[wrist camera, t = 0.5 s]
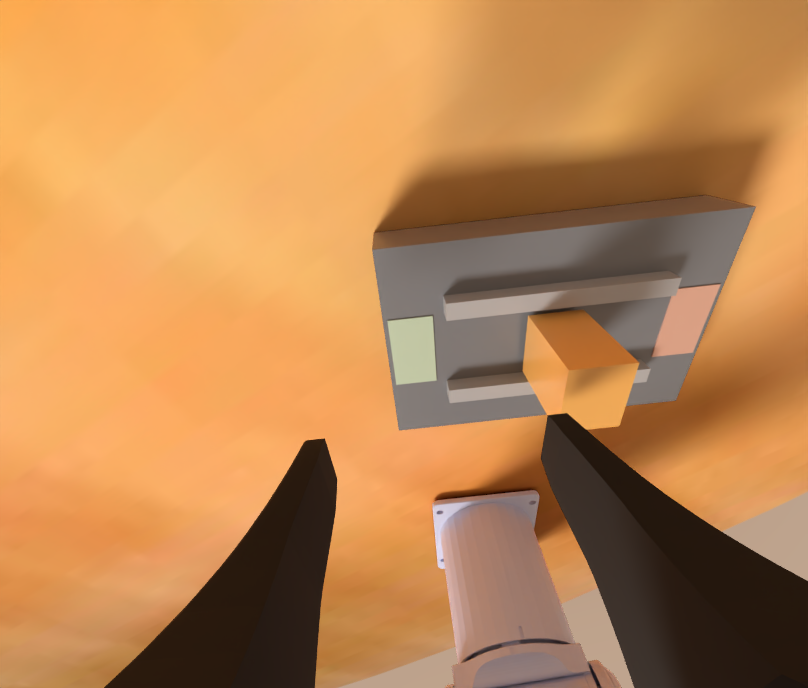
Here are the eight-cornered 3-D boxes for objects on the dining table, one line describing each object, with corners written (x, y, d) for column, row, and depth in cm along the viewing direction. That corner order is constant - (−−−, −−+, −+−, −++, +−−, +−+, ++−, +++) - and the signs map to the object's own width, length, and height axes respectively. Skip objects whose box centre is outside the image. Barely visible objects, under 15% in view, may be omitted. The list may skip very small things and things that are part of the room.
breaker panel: (646, 372, 21) (686, 410, 19) (397, 399, 21) (399, 441, 19) (706, 194, 16) (774, 211, 13) (373, 232, 16) (371, 256, 13)
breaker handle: (572, 365, 17) (619, 426, 14) (522, 370, 17) (556, 433, 14) (583, 309, 15) (639, 362, 12) (528, 315, 15) (568, 370, 12)
